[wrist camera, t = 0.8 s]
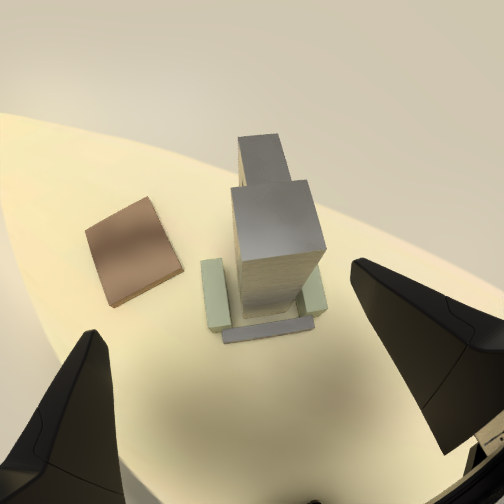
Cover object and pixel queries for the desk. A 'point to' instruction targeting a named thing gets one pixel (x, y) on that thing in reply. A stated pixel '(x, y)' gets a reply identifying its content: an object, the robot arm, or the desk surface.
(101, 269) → the walnut board
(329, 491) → the desk surface
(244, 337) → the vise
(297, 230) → the stepped metal bracket
